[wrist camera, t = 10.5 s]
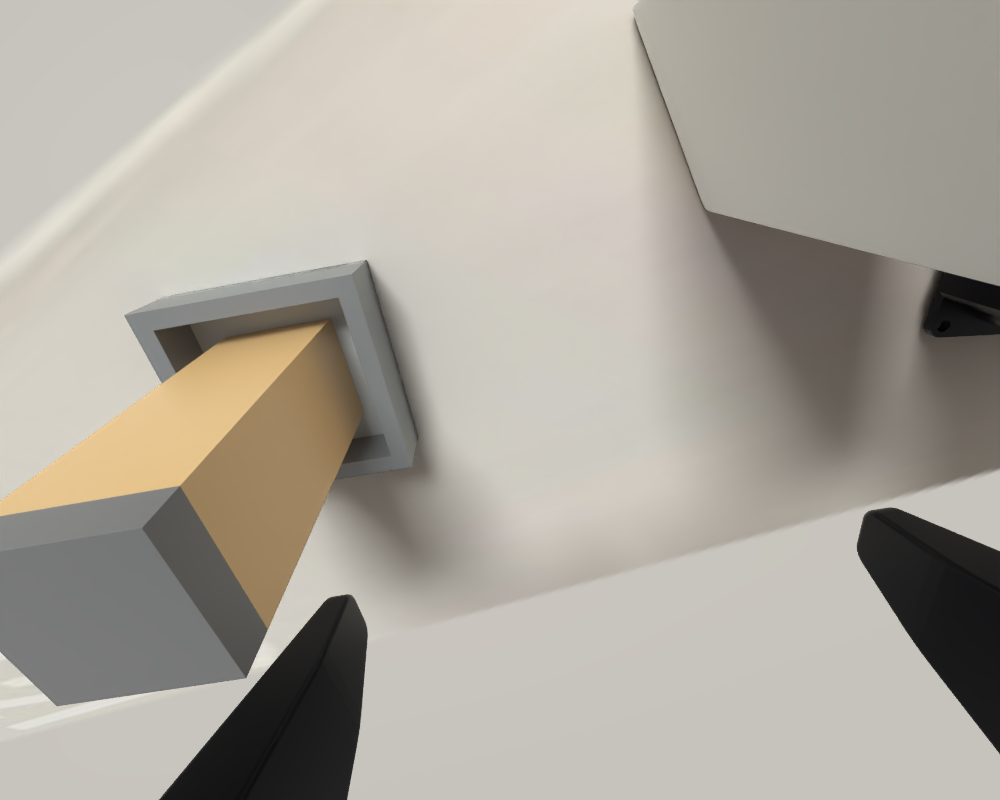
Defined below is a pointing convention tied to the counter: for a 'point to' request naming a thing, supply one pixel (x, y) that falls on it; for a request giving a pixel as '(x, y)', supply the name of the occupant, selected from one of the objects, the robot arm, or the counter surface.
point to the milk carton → (842, 119)
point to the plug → (177, 521)
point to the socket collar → (289, 301)
